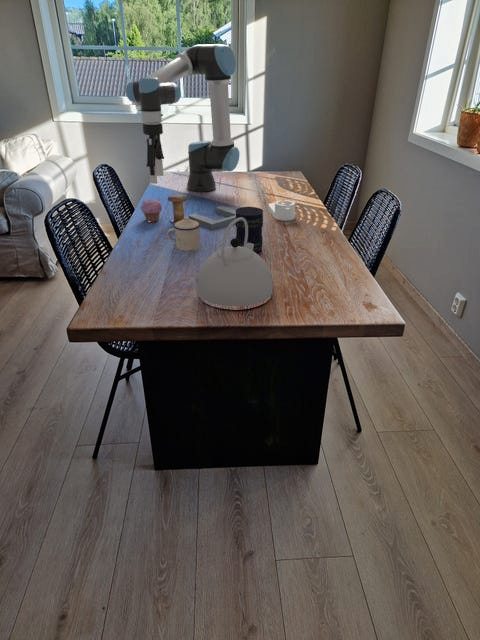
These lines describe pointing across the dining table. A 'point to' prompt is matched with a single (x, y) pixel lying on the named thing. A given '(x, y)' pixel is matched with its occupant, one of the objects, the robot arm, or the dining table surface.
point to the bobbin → (177, 206)
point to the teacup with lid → (186, 234)
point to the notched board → (212, 223)
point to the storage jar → (250, 227)
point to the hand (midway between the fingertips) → (157, 179)
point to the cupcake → (151, 209)
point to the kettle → (235, 274)
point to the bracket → (282, 210)
